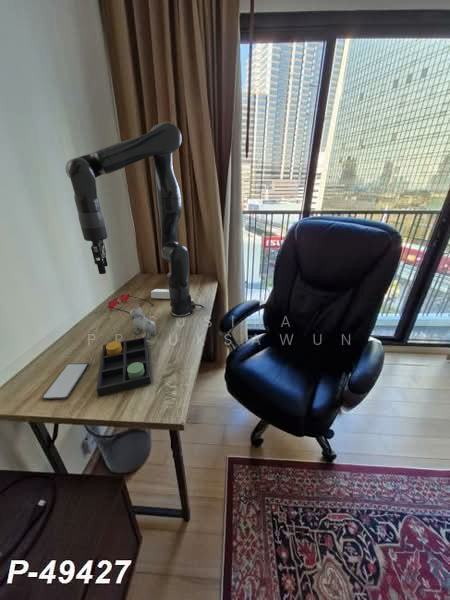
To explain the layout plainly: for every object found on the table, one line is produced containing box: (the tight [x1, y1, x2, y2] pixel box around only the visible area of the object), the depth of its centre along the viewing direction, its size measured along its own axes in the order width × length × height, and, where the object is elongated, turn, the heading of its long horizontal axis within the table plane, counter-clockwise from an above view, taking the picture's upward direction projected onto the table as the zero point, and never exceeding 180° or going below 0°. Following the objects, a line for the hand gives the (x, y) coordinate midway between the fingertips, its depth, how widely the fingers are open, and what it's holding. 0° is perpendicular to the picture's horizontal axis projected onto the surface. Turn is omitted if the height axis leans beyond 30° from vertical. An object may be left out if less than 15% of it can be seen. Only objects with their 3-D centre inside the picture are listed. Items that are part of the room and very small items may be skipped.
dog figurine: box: [129, 306, 157, 340], centre depth 103 cm, size 5×13×11 cm, turn 52°
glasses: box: [107, 292, 154, 319], centre depth 123 cm, size 14×16×5 cm
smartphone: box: [42, 362, 89, 400], centre depth 81 cm, size 7×1×15 cm
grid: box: [96, 336, 152, 397], centre depth 87 cm, size 15×23×3 cm
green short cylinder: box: [127, 362, 145, 380], centre depth 81 cm, size 5×5×4 cm
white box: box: [150, 288, 170, 300], centre depth 134 cm, size 13×7×8 cm, turn 85°
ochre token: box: [105, 340, 123, 356], centre depth 91 cm, size 5×5×4 cm
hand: (103, 269), depth 93 cm, fingers open, 8 cm apart
